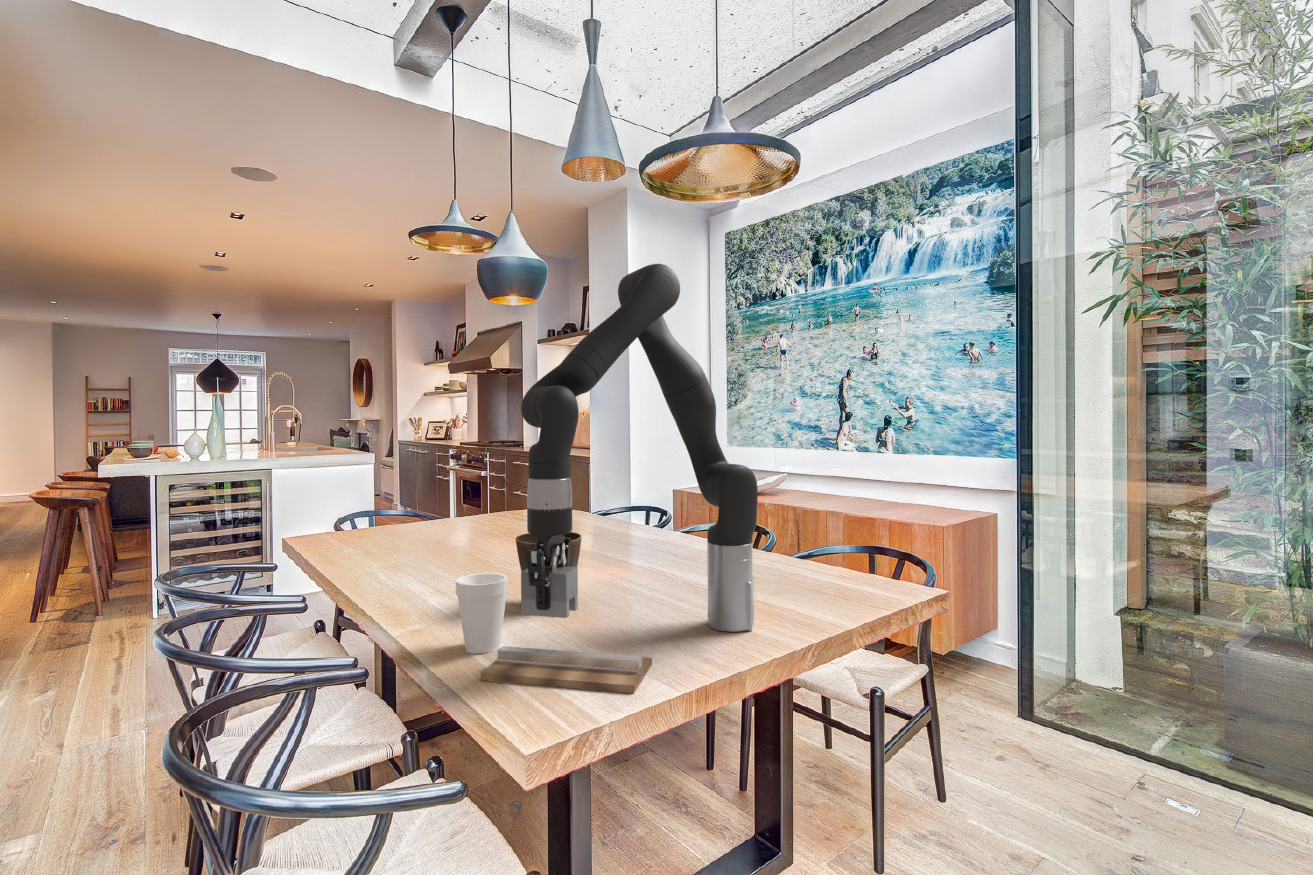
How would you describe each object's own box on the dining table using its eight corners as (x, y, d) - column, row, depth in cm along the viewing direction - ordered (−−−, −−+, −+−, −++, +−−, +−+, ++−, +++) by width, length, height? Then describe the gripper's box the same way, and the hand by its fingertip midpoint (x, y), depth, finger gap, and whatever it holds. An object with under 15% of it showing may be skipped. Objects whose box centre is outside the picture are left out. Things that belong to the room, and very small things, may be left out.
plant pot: (594, 607, 146) (593, 537, 146) (533, 620, 138) (532, 545, 137) (563, 593, 159) (563, 528, 158) (506, 604, 150) (505, 535, 149)
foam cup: (481, 660, 115) (479, 587, 114) (445, 650, 120) (444, 581, 119) (519, 644, 123) (518, 576, 122) (484, 636, 128) (483, 570, 127)
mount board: (651, 664, 112) (651, 657, 112) (634, 693, 100) (634, 685, 100) (512, 653, 118) (512, 647, 118) (480, 679, 106) (480, 672, 106)
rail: (642, 667, 108) (642, 655, 108) (638, 673, 105) (638, 661, 105) (503, 656, 113) (503, 645, 113) (496, 662, 110) (496, 650, 110)
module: (577, 608, 111) (577, 562, 111) (566, 617, 106) (566, 569, 106) (534, 605, 113) (534, 560, 113) (521, 614, 108) (520, 567, 108)
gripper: (554, 511, 101) (555, 618, 102) (585, 500, 115) (585, 594, 116) (510, 509, 103) (511, 615, 103) (545, 499, 117) (546, 592, 117)
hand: (550, 603), depth 109 cm, fingers closed on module, 5 cm apart
